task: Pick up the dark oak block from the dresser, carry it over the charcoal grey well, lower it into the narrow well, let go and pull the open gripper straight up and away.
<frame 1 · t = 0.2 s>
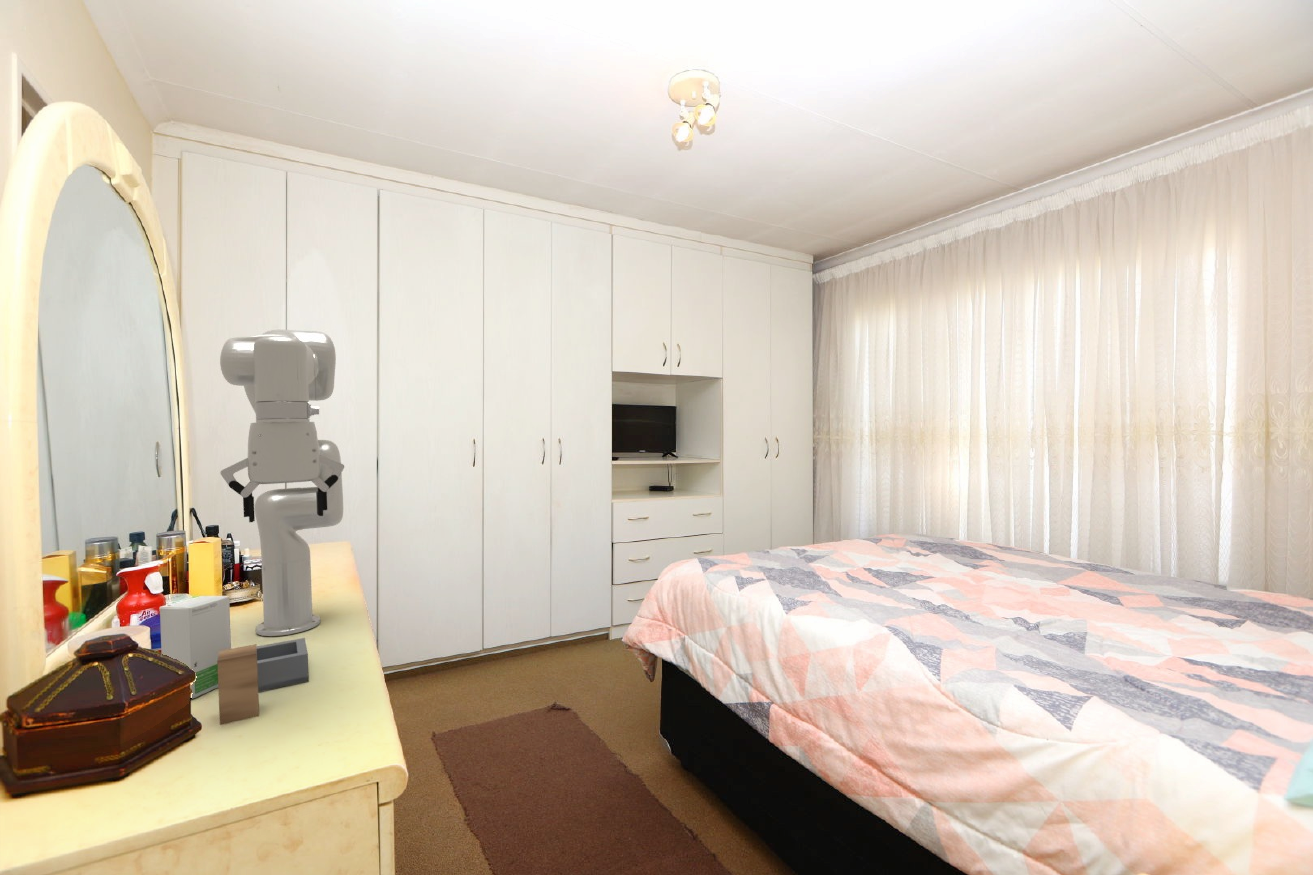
hand: (286, 518, 101), 31 cm above the dresser, tool pointing down, fingers open, 9 cm apart
oak block: (240, 714, 98), on the dresser
grey well: (275, 678, 112), on the dresser
skincare box: (198, 689, 108), on the dresser
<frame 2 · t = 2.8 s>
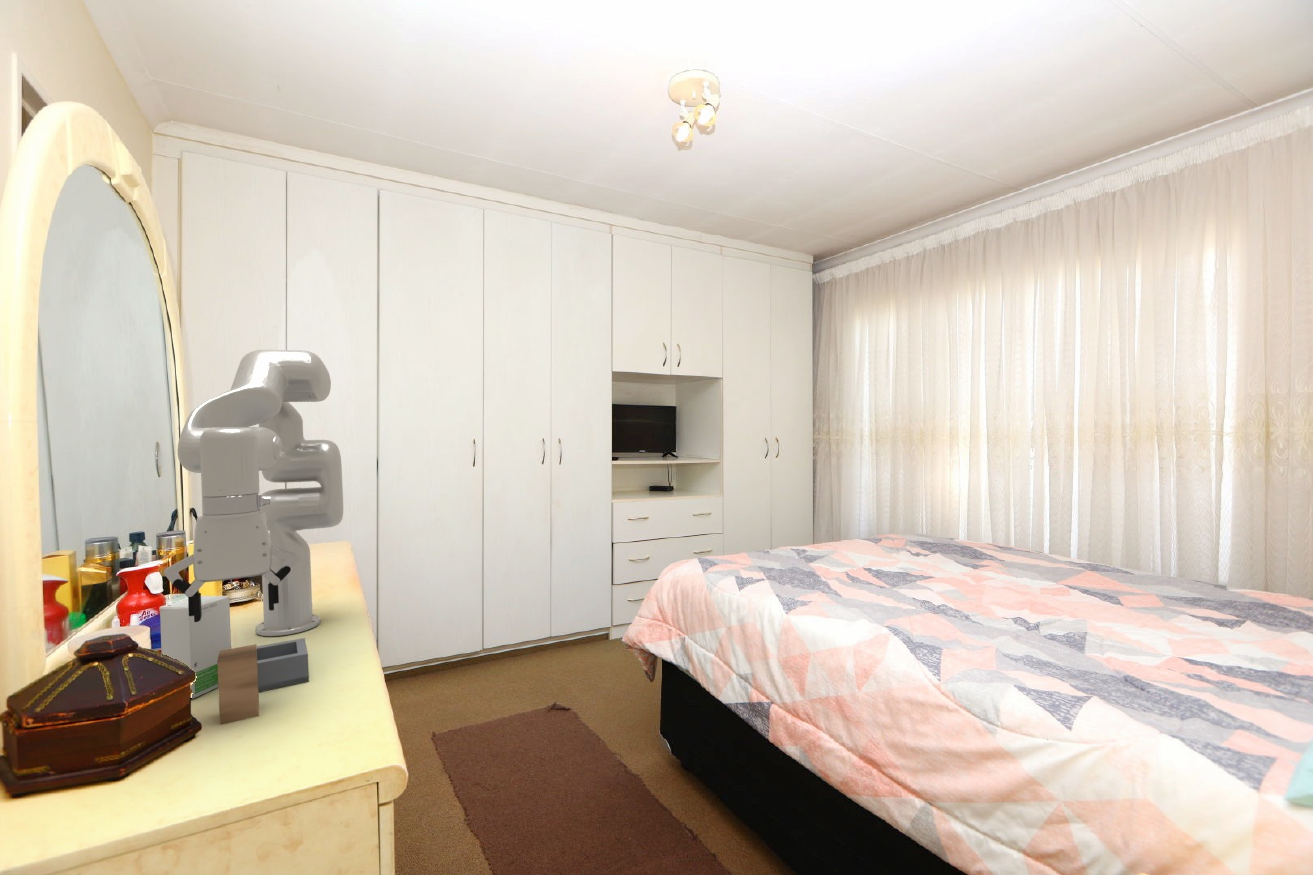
hand: (235, 614, 98), 16 cm above the dresser, tool pointing down, fingers open, 9 cm apart
nothing on the dresser moved.
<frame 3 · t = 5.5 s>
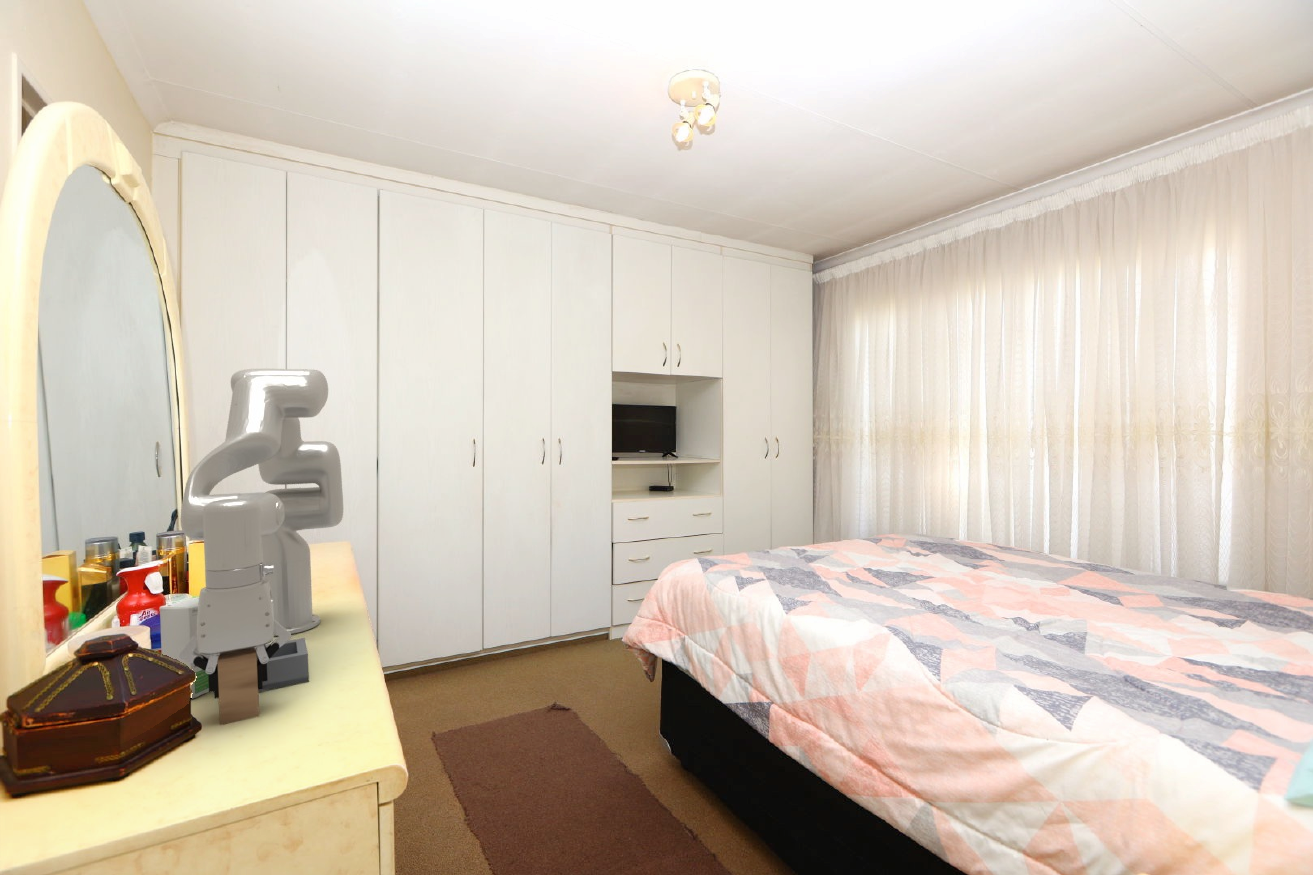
hand: (239, 689, 98), 4 cm above the dresser, tool pointing down, fingers closed on oak block, 5 cm apart
oak block: (240, 714, 98), on the dresser, touching gripper
everything else where it was.
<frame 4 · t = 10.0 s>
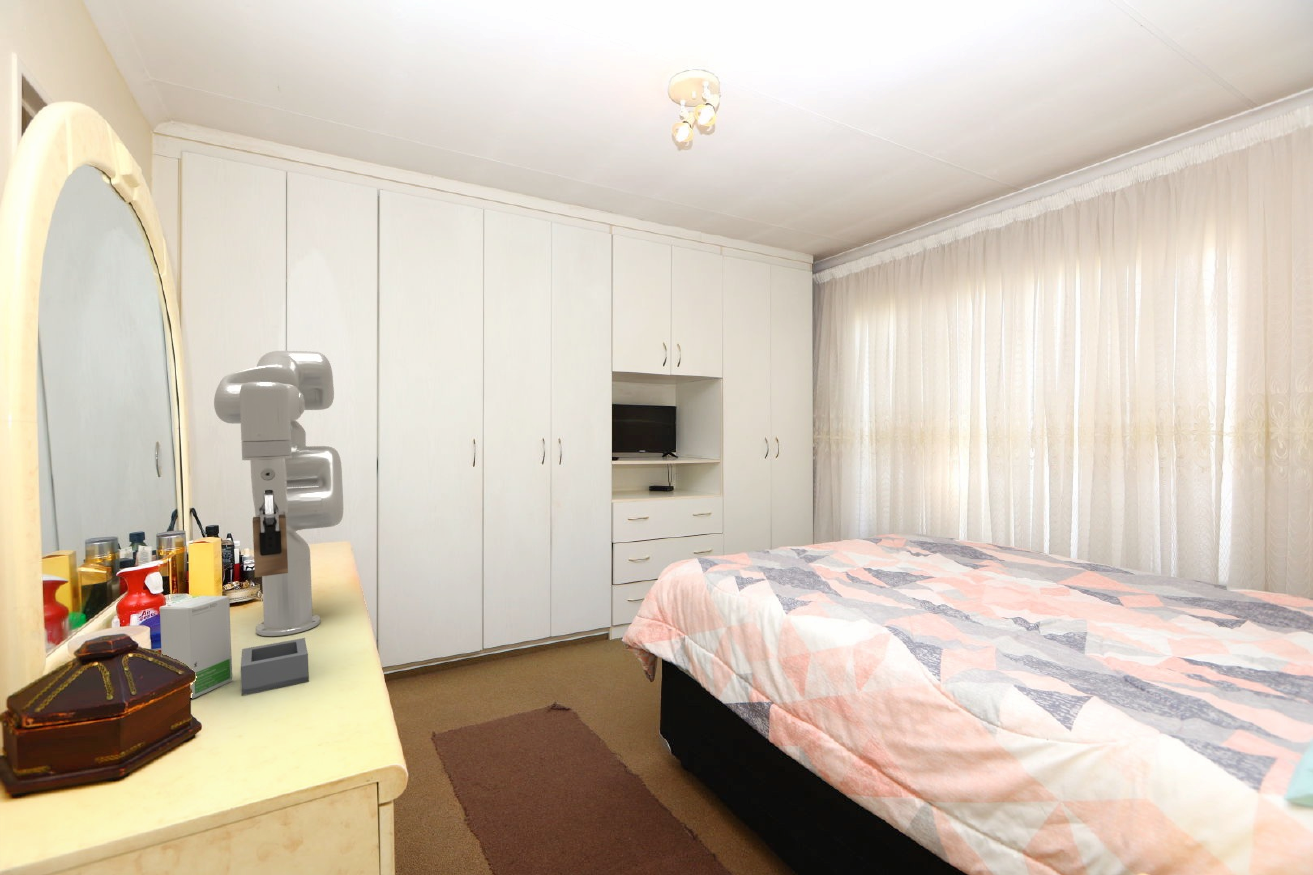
hand: (270, 550, 111), 23 cm above the dresser, tool pointing down, fingers closed on oak block, 5 cm apart
oak block: (271, 572, 112), point 19 cm above the dresser, touching gripper
everything else where it was.
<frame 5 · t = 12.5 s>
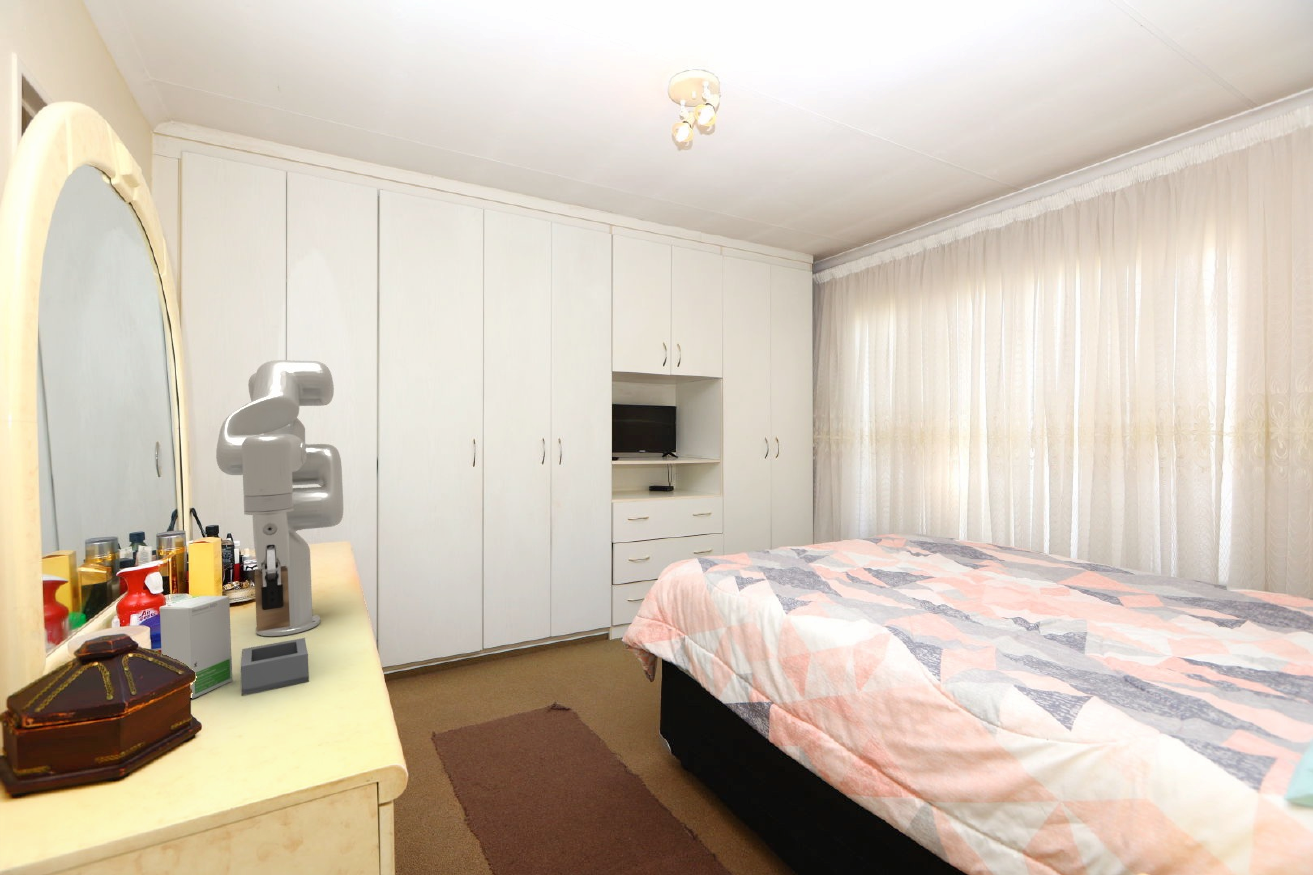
hand: (272, 603, 111), 14 cm above the dresser, tool pointing down, fingers closed on oak block, 5 cm apart
oak block: (273, 625, 112), point 10 cm above the dresser, touching gripper
everything else where it was.
when the fingers open (6 cm above the dresser, at t = 14.7 s): oak block drops 1 cm, resting on grey well.
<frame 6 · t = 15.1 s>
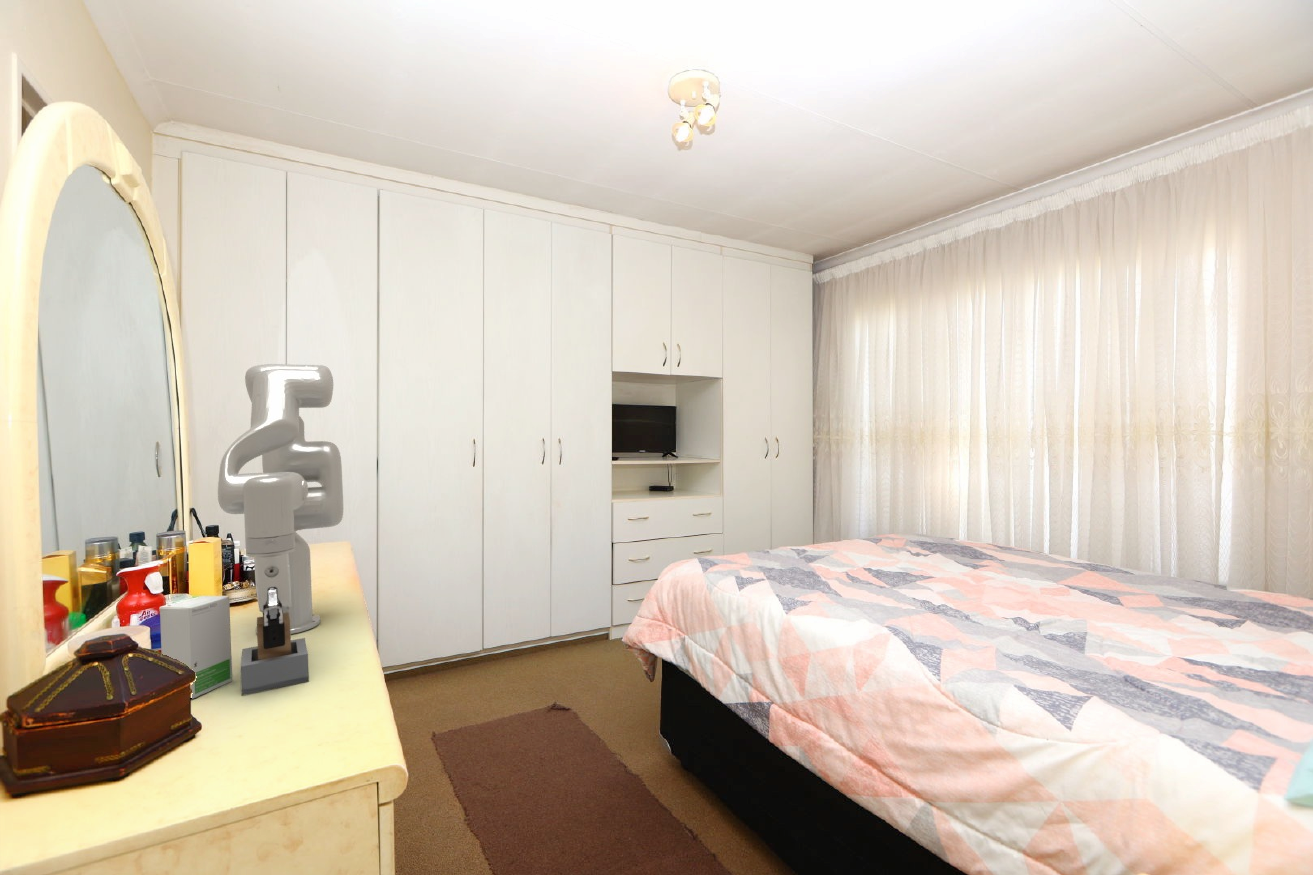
hand: (274, 638, 112), 7 cm above the dresser, tool pointing down, fingers open, 9 cm apart
oak block: (275, 672, 112), point 1 cm above the dresser, touching grey well
everything else where it was.
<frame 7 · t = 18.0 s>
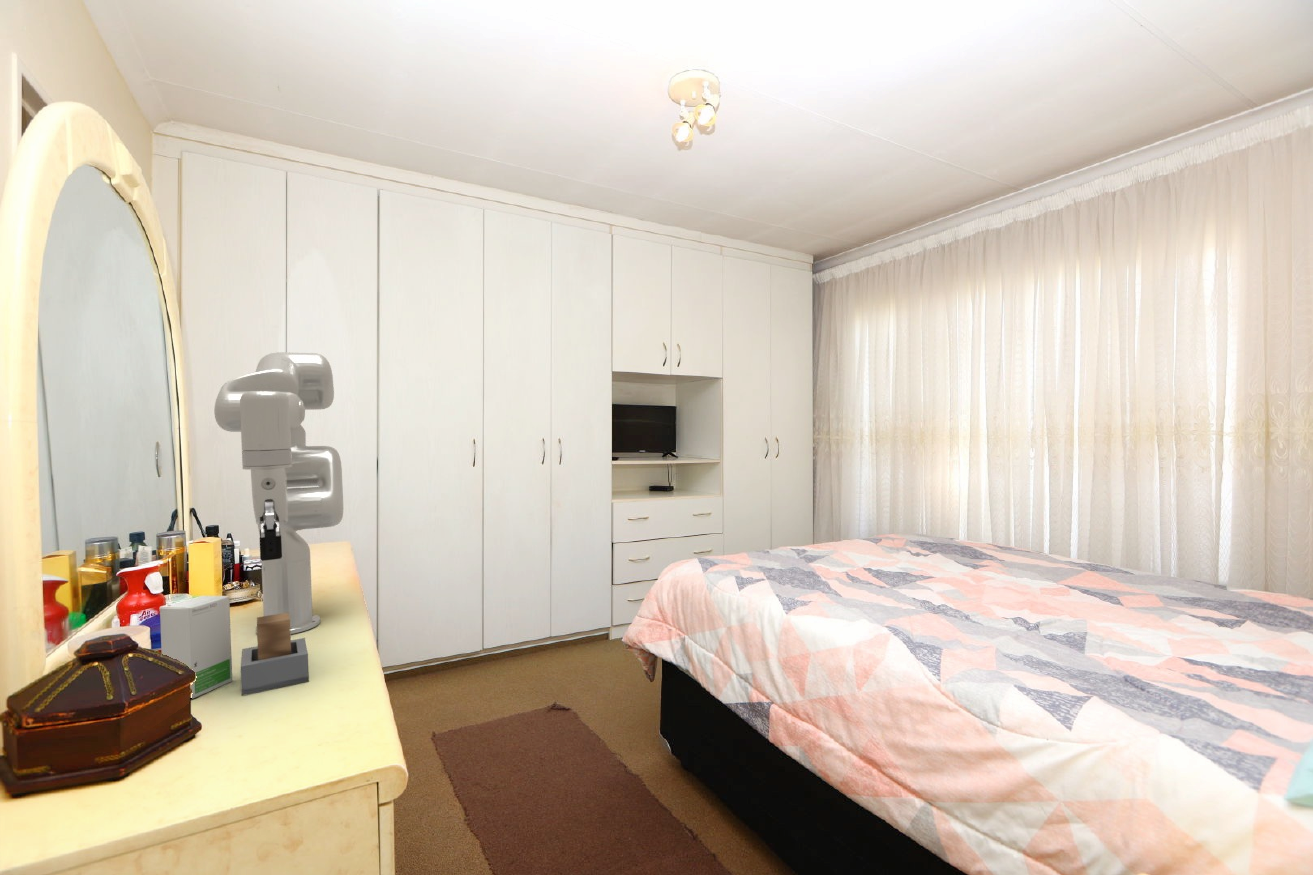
hand: (271, 554, 112), 23 cm above the dresser, tool pointing down, fingers open, 9 cm apart
nothing on the dresser moved.
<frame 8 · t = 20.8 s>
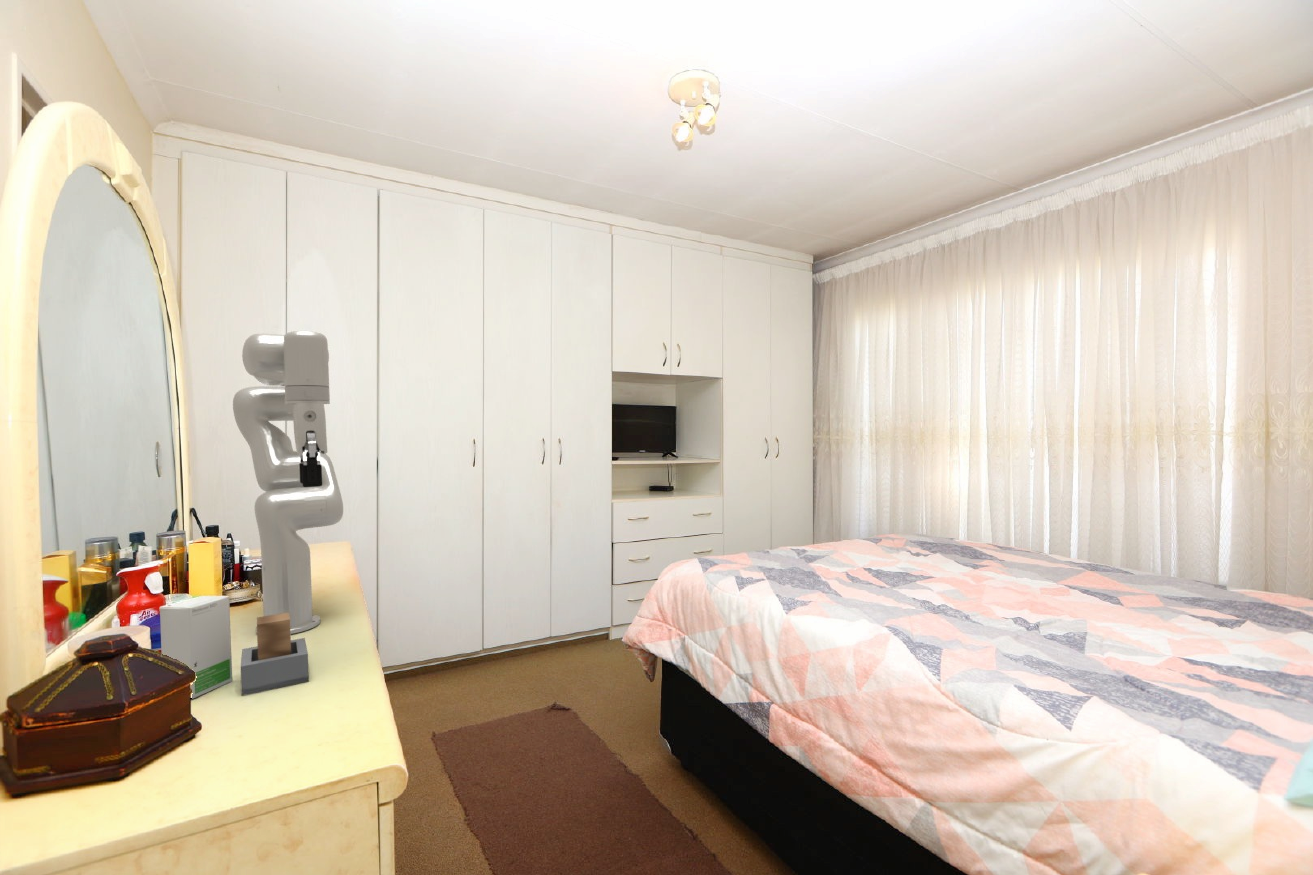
hand: (310, 484, 120), 34 cm above the dresser, tool pointing down, fingers open, 9 cm apart
nothing on the dresser moved.
at the end: oak block 0.1 cm off-centre on the grey well, point 1.0 cm above the grey well's base; oak block tilted 0°; the gripper is holding nothing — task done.
